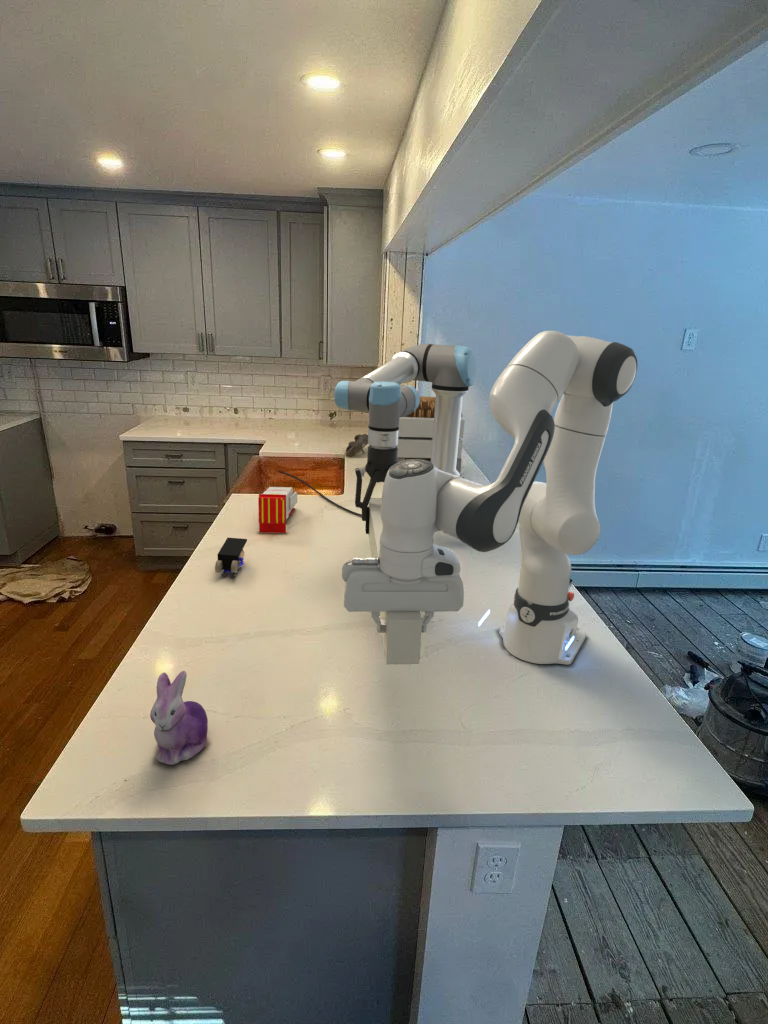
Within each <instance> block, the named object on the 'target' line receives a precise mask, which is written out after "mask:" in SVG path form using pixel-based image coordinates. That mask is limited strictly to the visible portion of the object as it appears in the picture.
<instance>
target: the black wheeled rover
mask: <svg viewBox="0 0 768 1024" xmlns="http://www.w3.org/2000/svg"><path fill="white" fill-rule="evenodd" d="M247 542H248V538H240V537H226V539H225V541H224V543H223V544H222V546H221V547H220V549H219V551H218V552H217V560H216V562H215V564H214V572H215V573H221V577H222V578H224V577H225V576H226V574H227V573H230V574H231V573H232V574H231V578H234V577H235V575H236V573H237V572H239V571H240V567H242V566H243V565H244V564H245V562H244V558H245V551H244V547H245V546H246V544H247Z"/></svg>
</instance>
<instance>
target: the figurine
mask: <svg viewBox="0 0 768 1024" xmlns="http://www.w3.org/2000/svg"><path fill="white" fill-rule="evenodd" d="M187 676H188V675H187V672H186V671H185V670H182V671H180V672H179V673H178V674H177V675H176V677H175V679H173V681H172V682H171V681H170V677H169V675H168V674H167V672H162V673H161V674H160V675H159V676H158V677H157V681H156V699H155V701H154V702H153V705H152V708H151V710H150V715H149V717H150V720H151V722H152V723H153V724H154V725H155V727H154V729H153V736H154V740H155V742H156V743H157V747H158V750H157V751H158V752H157V757H156V758H157V761H159V762H160V763H162V764H165V765H168V766H169V765H171V766H172V765H177V764H178V763H180V762H182V761H188V760H190V759H191V758H193V757H194V756H196V755H197V754H199V753H200V752H201V751H202V750H203V749H204V748H205V747H206V745H207V741H208V730H209V729H208V728H209V727H208V726H209V723H208V721H209V720H208V715H207V713H206V710H205V708H204V707H203V705H202V704H200V703H199V702H197V701H194V700H186V701H184V700H183V697H182V696H183V693H184V688H185V687H186V681H187Z"/></svg>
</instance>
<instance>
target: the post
mask: <svg viewBox="0 0 768 1024" xmlns="http://www.w3.org/2000/svg"><path fill="white" fill-rule="evenodd" d="M381 503H382V497H371V498H370V501H369V504H368V507H369V509H370V516H369V534H368V539H369V547H370V554H371V555H370V556H371V558H379V547H380V536H381V533H382V530H383V523H382V519H381ZM422 617H423V616H422V613H421V612H380V616H379V618H380V619H381V620H385V623H386V632H385V633H381V637H382V643H383V650H384V658H385V659H384V660H385V665H387V666H389V665H420V657H421V645H422V634H423V632H422Z"/></svg>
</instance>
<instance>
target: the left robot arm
mask: <svg viewBox="0 0 768 1024" xmlns="http://www.w3.org/2000/svg"><path fill="white" fill-rule="evenodd" d="M476 378H477V359H476V355H475V353H474V350H473V349H472V348H471V347H469V346H462V345H451V344H450V345H449V344H436V343H435V344H434V343H433V344H432V343H421V344H420V343H419V344H416V345H413V346H409V347H406V348H404V349H402V350H400V351H398V352H396V353H395V354H394V355H393V356H392V357H391V359H390V360H389V361H388V362H386V363H384V364H382V365H381V366H379V367H378V368H375V369H373V370H372V371H370V372H368V373H367V374H366V375H363V376H362V377H360V378H359V379H357V380H354V381H352V380H341V381H340V380H339V382H338V383H337V384H336V386H335V388H334V392H333V395H334V396H333V398H334V404H335V405H336V407H337V408H339V409H341V410H342V409H343V410H347V411H355V412H363V413H368V428H367V429H368V431H367V435H368V444H367V445H368V447H367V455H366V456H367V458H366V460H367V461H366V464H365V466H364V467H360V468H359V467H356V468H355V469H354V473H355V476H356V485H355V497H354V507H355V508H358V509H361V513H359V512H355V511H353V510H351V509H348V508H346V507H344V506H342V505H341V504H338V503H336V502H334V501H333V500H331V499H330V498H328V497H327V496H325V495H324V494H322V493H321V492H319V491H318V490H317V489H316V488H314V487H313V486H312V485H310V484H309V483H307V482H306V481H304V480H303V479H301V478H298V477H296V476H295V475H292V474H290V473H288V472H285V471H282V470H278V473H279V474H280V473H281V474H283V475H286V476H288V477H291V478H293V479H295V480H297V481H299V482H301V483H303V484H304V485H305V486H307V487H309V489H311V490H313V491H314V492H315V493H316V494H318V496H321V498H323V499H325V500H326V501H327V502H329V503H330V504H332V505H334V506H336V507H338V508H340V509H341V510H344V511H346V512H348V513H350V514H353V515H356V516H359V517H361V521H362V522H365V529H364V530H365V534H366V535H369V516H370V509H369V507H368V506H369V501H370V498H372V496H373V492H374V489H375V487H376V485H377V484H379V483H384V481H385V477H386V475H387V472H388V470H389V468H390V467H391V466H392V465H394V464H396V463H397V455H398V448H397V447H396V446H397V445H398V432H399V418H400V417H402V416H406V415H409V414H411V413H412V412H414V411H415V410H416V409H417V408H418V406H419V403H420V397H421V396H420V393H419V391H418V390H417V388H415V387H414V386H413V385H408V383H410V382H413V381H418V382H427V383H431V391H433V393H434V394H435V397H436V400H435V413H434V425H433V438H432V450H431V463H433V464H434V466H435V467H436V468H437V469H439V470H441V471H444V472H446V473H450V474H453V475H456V476H459V477H461V474H460V473H459V472H458V471H457V470H456V463H457V453H458V442H459V432H460V422H461V418H462V417H461V412H463V411H462V409H463V400H464V396H465V395H466V394H467V393H468V392H469V389H470V388H471V387H472V386H474V385H475V383H476ZM365 473H367V475H368V476H369V477H370V479H369V482H368V485H367V488H366V490H365V494H364V497H363V499H361V498H362V487H363V477H364V476H365ZM361 500H362V501H361Z"/></svg>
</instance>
